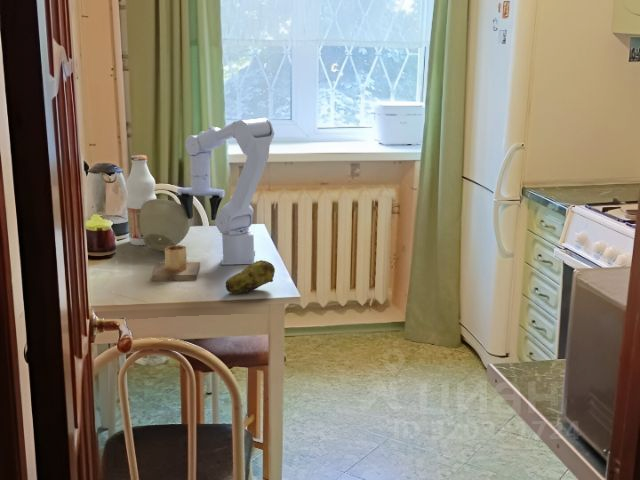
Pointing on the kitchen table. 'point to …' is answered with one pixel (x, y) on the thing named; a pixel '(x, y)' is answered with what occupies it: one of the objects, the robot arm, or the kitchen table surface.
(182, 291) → the kitchen table surface
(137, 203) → the white milk bottle
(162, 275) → the pin block
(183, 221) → the planter bowl
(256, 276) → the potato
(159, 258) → the kitchen table surface
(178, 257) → the octagonal wooden tube
